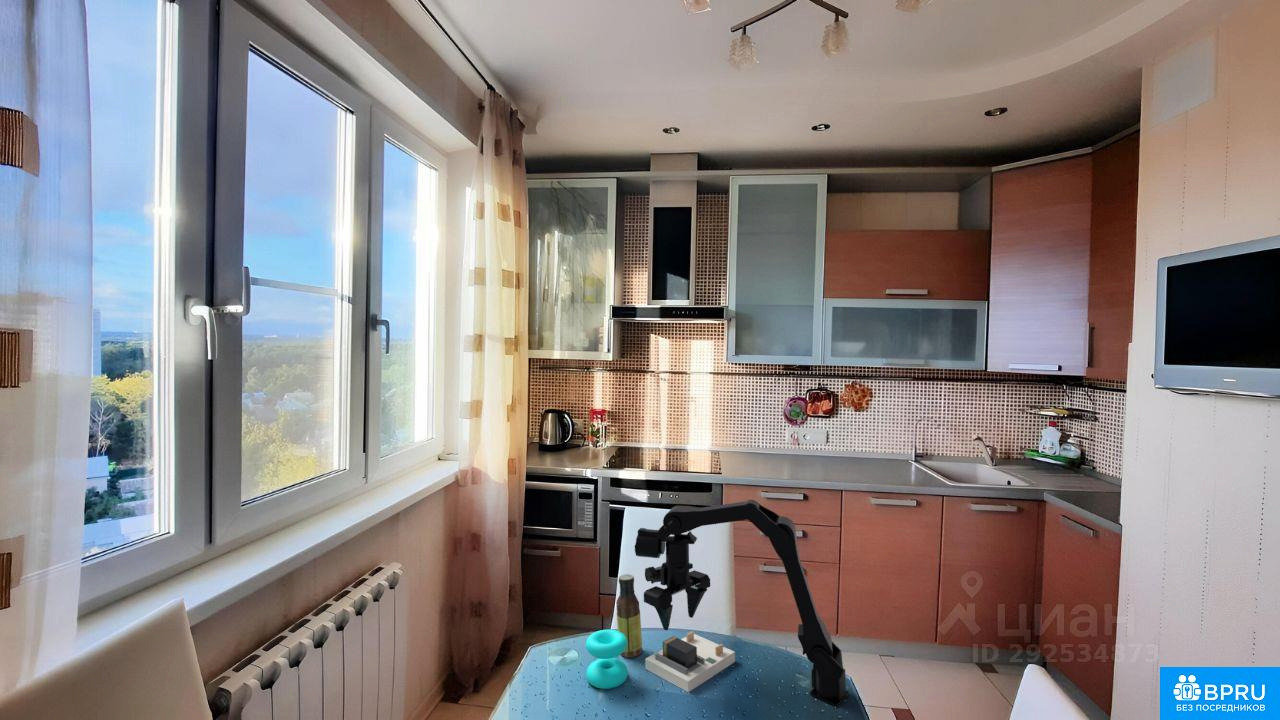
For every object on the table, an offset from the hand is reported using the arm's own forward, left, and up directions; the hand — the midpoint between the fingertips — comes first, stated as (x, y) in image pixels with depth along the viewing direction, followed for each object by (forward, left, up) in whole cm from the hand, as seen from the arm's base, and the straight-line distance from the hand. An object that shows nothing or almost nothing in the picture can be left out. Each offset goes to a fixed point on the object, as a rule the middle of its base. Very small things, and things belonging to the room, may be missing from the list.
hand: (678, 623), depth 132 cm
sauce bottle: (+15, +2, -12) cm, 20 cm away
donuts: (+10, +14, -12) cm, 21 cm away
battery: (0, 0, -9) cm, 9 cm away
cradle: (0, -4, -12) cm, 12 cm away
